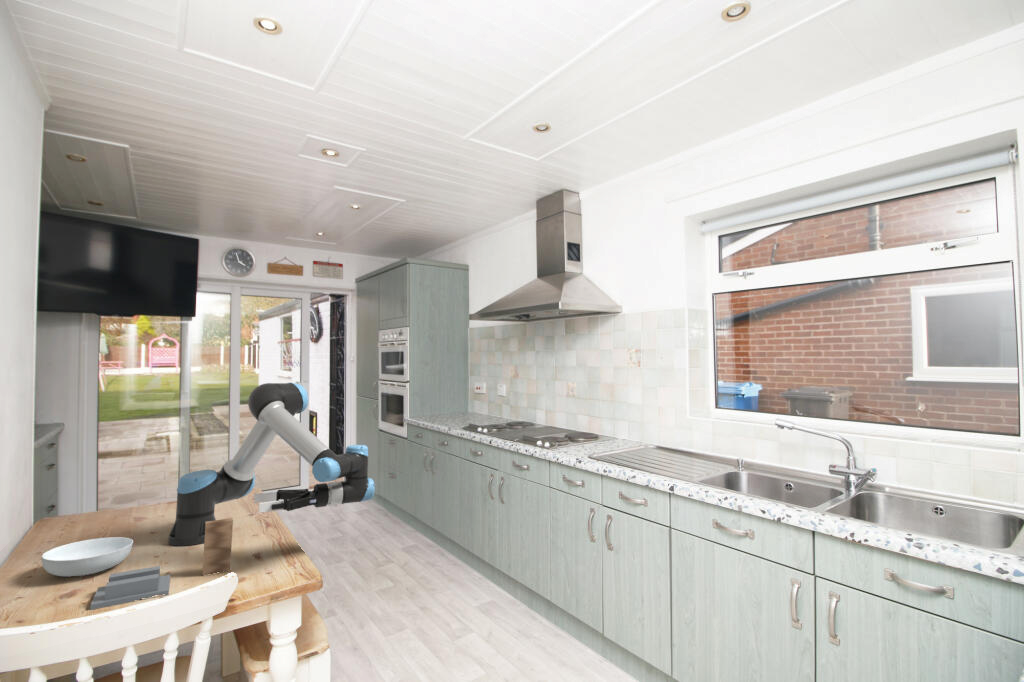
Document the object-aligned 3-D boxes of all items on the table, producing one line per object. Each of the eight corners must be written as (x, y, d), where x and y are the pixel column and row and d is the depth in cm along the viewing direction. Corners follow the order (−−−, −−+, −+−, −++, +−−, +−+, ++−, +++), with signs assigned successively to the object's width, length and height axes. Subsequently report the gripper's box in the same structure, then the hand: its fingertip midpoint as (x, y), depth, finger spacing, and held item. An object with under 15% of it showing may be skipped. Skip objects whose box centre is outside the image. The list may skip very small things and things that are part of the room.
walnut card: (229, 568, 148) (232, 518, 149) (230, 571, 146) (232, 520, 147) (202, 573, 144) (205, 521, 145) (202, 576, 142) (205, 523, 143)
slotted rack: (170, 578, 140) (171, 562, 140) (168, 594, 130) (169, 576, 130) (97, 591, 131) (99, 574, 131) (90, 609, 121) (91, 590, 121)
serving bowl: (148, 557, 156) (149, 536, 156) (94, 585, 135) (96, 560, 135) (81, 558, 155) (83, 535, 156) (17, 586, 134) (19, 560, 135)
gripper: (335, 514, 153) (260, 525, 141) (318, 498, 174) (251, 506, 162) (336, 490, 153) (261, 499, 142) (319, 476, 174) (253, 483, 162)
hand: (256, 503), depth 152 cm, fingers open, 13 cm apart
